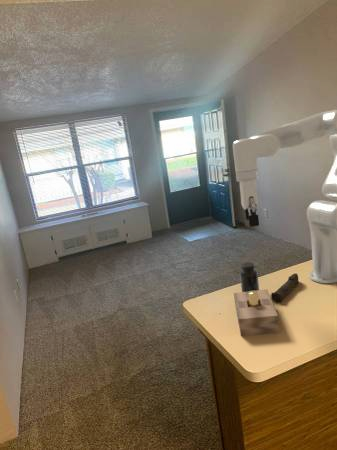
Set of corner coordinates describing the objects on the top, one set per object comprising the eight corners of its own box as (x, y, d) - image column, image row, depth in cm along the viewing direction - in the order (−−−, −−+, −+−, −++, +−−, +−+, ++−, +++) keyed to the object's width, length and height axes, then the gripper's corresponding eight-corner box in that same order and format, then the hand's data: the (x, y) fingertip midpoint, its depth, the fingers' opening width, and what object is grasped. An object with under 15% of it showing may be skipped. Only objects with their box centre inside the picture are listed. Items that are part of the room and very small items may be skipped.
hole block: (268, 304, 121) (267, 289, 120) (279, 332, 104) (277, 315, 102) (235, 307, 123) (233, 293, 121) (240, 335, 106) (238, 319, 104)
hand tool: (281, 304, 120) (280, 292, 119) (271, 301, 123) (270, 290, 122) (304, 283, 132) (304, 273, 131) (295, 281, 135) (294, 271, 134)
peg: (259, 316, 114) (256, 290, 112) (261, 321, 112) (257, 294, 109) (250, 317, 115) (247, 291, 112) (252, 321, 112) (248, 295, 110)
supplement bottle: (238, 293, 133) (235, 266, 130) (248, 286, 137) (245, 260, 134) (253, 297, 128) (249, 269, 125) (263, 290, 132) (259, 262, 129)
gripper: (234, 174, 123) (239, 218, 128) (238, 180, 107) (244, 230, 111) (254, 171, 122) (259, 215, 127) (262, 176, 106) (267, 227, 110)
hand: (252, 222), depth 119 cm, fingers open, 9 cm apart
